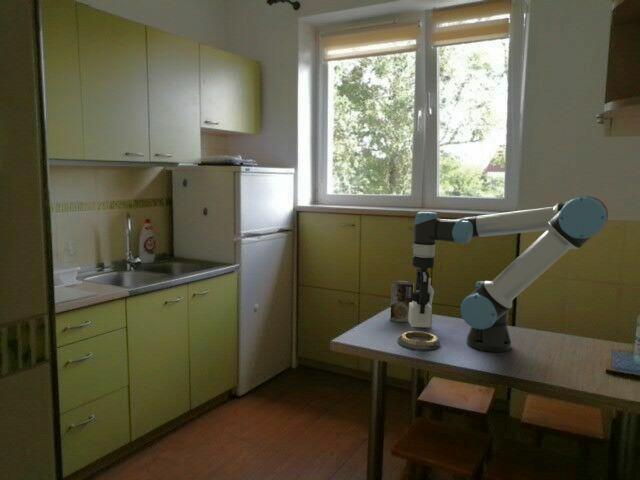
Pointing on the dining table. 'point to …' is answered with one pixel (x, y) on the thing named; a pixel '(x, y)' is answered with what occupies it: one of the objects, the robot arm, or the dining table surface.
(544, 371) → the dining table surface
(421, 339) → the ring
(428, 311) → the medicine bottle
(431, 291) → the plastic bottle
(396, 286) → the coffee box
